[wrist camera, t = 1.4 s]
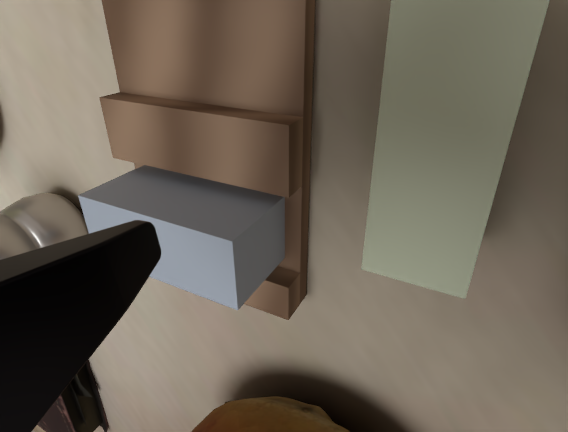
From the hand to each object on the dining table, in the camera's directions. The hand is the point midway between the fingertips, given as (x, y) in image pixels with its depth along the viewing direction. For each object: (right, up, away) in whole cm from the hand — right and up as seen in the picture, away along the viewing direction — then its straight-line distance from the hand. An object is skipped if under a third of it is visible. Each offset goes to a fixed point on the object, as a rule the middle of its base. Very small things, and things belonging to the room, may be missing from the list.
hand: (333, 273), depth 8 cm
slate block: (-5, +2, +16) cm, 17 cm away
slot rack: (-5, +6, +15) cm, 17 cm away
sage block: (+6, +5, +9) cm, 12 cm away
